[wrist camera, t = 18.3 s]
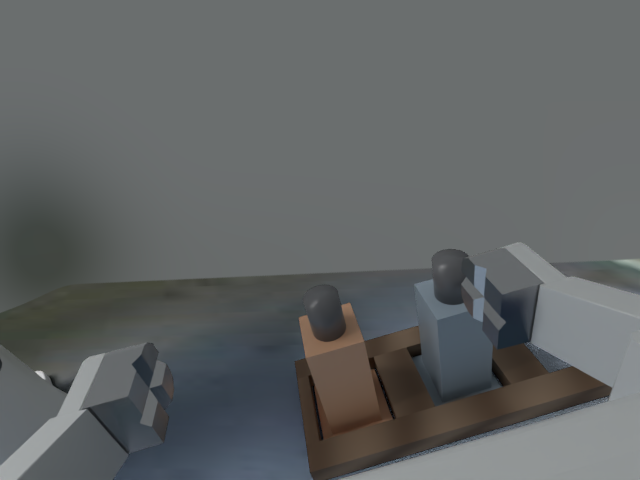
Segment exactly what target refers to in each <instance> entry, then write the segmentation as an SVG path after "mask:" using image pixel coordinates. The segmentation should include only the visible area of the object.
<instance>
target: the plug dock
mask: <svg viewBox="0 0 640 480" xmlns="http://www.w3.org/2000/svg"><path fill="white" fill-rule="evenodd" d="M364 342H365V347H366V351H367V356H368V360H369V365H370V369H372V370H371V374H372V378H373V383H374V387H375V392H376V396H377V401H378V405H379V410H380V414H381V419H382V420H381V421H377V422H374V423H370V424H367V425H364V426H360V427H357V428H354V429H350V430H347V431H344V432H340V433H337V434H334V435H333V434H332V431H331V428H330V426H329V423H328V420H327V417H326V414H325V411H324V409H323V406H322V403H321V400H320V397H319V394H318V391H317V389H316V386H315V383H314V380H313V377H312V374H311V372H310V369H309V366H308V363H307V360H306V358H305V359H301V360H298V361H295V367H296V374H297V381H298V389H299V396H300V403H301V410H302V418H303V425H304V432H305V439H306V446H307V454H308V461H309V468H310V473H311V476H312V478H313V480H327V479H331V478H334V477H338V476H341V475H344V474H348V473H351V472H354V471H358V470H361V469H364V468H368V467H371V466H374V465H378V464H381V463H384V462H388V461H391V460H394V459H398V458H401V457H404V456H408V455H411V454H414V453H418V452H421V451H424V450H428V449H431V448H435V447H438V446H441V445H445V444H448V443H451V442H455V441H458V440H461V439H465V438H468V437H471V436H475V435H478V434H481V433H485V432H488V431H491V430H495V429H498V428H501V427H505V426H508V425H511V424H515V423H518V422H521V421H525V420H528V419H531V418H535V417H538V416H542V415H545V414H548V413H552V412H555V411H558V410H562V409H565V408H568V407H572V406H575V405H578V404H582V403H585V402H588V401H592V400H595V399H598V398H602V397H605V396H608V395H610V393H611V390H612V387H610V386H608V385H606V384H605V383H603V382H601V381H599V380H597V379H595V378H594V377H592V376H590V375H588V374H586V373H584V372H583V371H581V370H579V369H577V368H575V367H573V366H571V367H568V368H565V369H561V370H558V371H555V372H551V373H549V372H548V371H547V370H546V369H545V368H544V366H543V365H542V364H541V363H540V362H539V361H538V360H537V358H536V357H535V356H534V355H533V354H532V353H531V351H530V350H529V349H528V348H527V347H526V346H525V345H524V343H522V344H518V345H514V346H510V347H506V348H502V349H498V350H497V349H496V348H495V346H494V345H493V351H492V371H493V372H494V374H495V375H496V377H497V378H498V379H499V381H500V382H501V384H502V385H503V386H504V387H502V386H501V385H500V383H499V382H498V380H497V379H496V377H495V376H494V375H493V373H492V377H491V388H488V389H485V390H481V391H478V392H475V393H471V394H468V395H464V396H461V397H458V398H454V399H451V400H448V401H444V402H443V401H442V399H441V397H440V395H439V393H438V391H437V389H436V387H435V386H434V384H433V382H432V380H431V378H430V376H429V374H428V372H427V370H426V368H425V366H424V364H423V361H422V352H421V343H420V333H419V326H416V327H412V328H409V329H405V330H402V331H398V332H395V333H391V334H388V335H384V336H381V337H377V338H374V339H371V340H367V341H364ZM418 355H420V356H418ZM415 356H416V357H415ZM412 357H413V358H412ZM374 368H376V369H377V372H378V374H379V377H380V380H381V382H382V385H383V388H384V390H385V393H386V396H387V398H388V401H389V404H390V406H391V409H392V412H393V415H394V417H395V419H393V418H392V416H391V413H390V410H389V407H388V405H387V402H386V399H385V397H384V394H383V391H382V388H381V386H380V383H379V380H378V377H377V375H376V372H375V369H374ZM312 386H314V389H315V394H316V400H317V405H318V411H319V416H320V422H321V427H322V433H323V438H324V440H321V434H320V429H319V423H318V417H317V412H316V406H315V400H314V395H313V389H312Z"/></svg>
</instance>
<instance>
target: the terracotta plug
mask: <svg viewBox="0 0 640 480" xmlns="http://www.w3.org/2000/svg"><path fill="white" fill-rule="evenodd" d="M303 304H304V307H305V310H306V313H307V315H305V316H302V317H299V322H300V328H301V334H302V340H303V345H304V351H305V357H306V360H307V363H308V366H309V369H310V372H311V374H312V377H313V380H314V383H315V386H316V389H317V391H318V394H319V397H320V400H321V403H322V406H323V409H324V411H325V414H326V417H327V420H328V423H329V426H330V428H331V431H332V434H333V435H334V434H337V433H340V432H344V431H347V430H350V429H354V428H357V427H360V426H364V425H367V424H370V423H374V422H377V421H381V420H382V419H381V414H380V410H379V405H378V401H377V396H376V392H375V387H374V383H373V378H372V374H371V369H370V365H369V360H368V356H367V351H366V347H365V342H364V339H363V336H362V334H361V331H360V328H359V326H358V323H357V320H356V317H355V315H354V312H353V309H352V307H351V304H350V303H347V304H343V305H341V303H340V299H339V295H338V291H337V289H336V288H335V287H333V286H330V285H318V286H315V287H313V288H311V289H309V290H308V291H307V292H306V293H305V294H304V296H303Z"/></svg>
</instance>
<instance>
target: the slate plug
mask: <svg viewBox="0 0 640 480" xmlns="http://www.w3.org/2000/svg"><path fill="white" fill-rule="evenodd" d="M466 257H469V256H468V255H467V254H466V253H465V252H463V251H460V250H456V249H447V250H442V251H439V252H437V253H436V254H435V255H433V257H432V271H433V279H431V280H427V281H424V282H420V283H417V284H414V287H415V296H416V306H417V315H418V324H419V333H420V343H421V352H422V361H423V364H424V366H425V368H426V370H427V372H428V374H429V376H430V378H431V380H432V382H433V384H434V386H435V387H436V389H437V391H438V393H439V395H440V397H441V399H442V401H443V402H444V401H448V400H451V399H454V398H458V397H461V396H464V395H468V394H471V393H475V392H478V391H481V390H485V389H488V388H491V377H492V351H493V344H492V342H491V341H490V340H489V338H488V337H487V336H486V335H485V333H484V332H483V331H482V326H483V322H481V321H479V320H476V319H474V318H473V317H472V316H471V315H470V313H469V312H468V310H467V308H466V306H465V304H464V301H463V298H462V294H461V283H462V282H463V281H464V279H465V278H466V276H465V275H464V274H463V272H462V271H461V263H462V260H463V258H466Z"/></svg>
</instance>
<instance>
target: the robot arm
mask: <svg viewBox="0 0 640 480" xmlns="http://www.w3.org/2000/svg"><path fill="white" fill-rule="evenodd" d="M461 271H462V272H463V274H464V275H465V276H466V278H465V279H464V281H463V282H462V283H461V294H462V298H463V301H464V304H465V306H466V308H467V310H468V312H469V313H470V315H471V316H472V317H473V318H474V319H476V320H479V321H481V322H483V326H482V331H483V332H484V333H485V335H486V336H487V337H488V338H489V340H490V341H491V342H492V344H493V345H494V346H495V348H496V349H497V350H498V349H502V348H506V347H510V346H514V345H518V344H522V343H526V342H530V341H531V344H533V345H535V346H537V347H538V348H540V349H542V350H544V351H546V352H548V353H549V354H551V355H553V356H555V357H557V358H559V359H561V360H562V361H564V362H566V363H568V364H570V365H572V366H573V367H575V368H577V369H579V370H581V371H583V372H584V373H586V374H588V375H590V376H592V377H594V378H595V379H597V380H599V381H601V382H603V383H605V384H606V385H608V386H610V387H612V390H611V393H610V396H609V398H608V401H607V402H604V403H600V404H597V405H593V406H590V407H586V408H583V409H579V410H576V411H572V412H569V413H566V414H562V415H559V416H555V417H552V418H548V419H545V420H541V421H538V422H534V423H531V424H528V425H524V426H521V427H517V428H514V429H510V430H507V431H503V432H500V433H497V434H493V435H490V436H486V437H483V438H479V439H476V440H472V441H469V442H465V443H462V444H459V445H455V446H452V447H448V448H445V449H441V450H438V451H434V452H431V453H427V454H424V455H421V456H417V457H414V458H410V459H407V460H403V461H400V462H396V463H393V464H390V465H386V466H383V467H379V468H376V469H372V470H369V471H365V472H362V473H358V474H355V475H352V476H348V477H345V478H341V479H338V480H640V295H637V294H634V293H630V292H627V291H623V290H620V289H616V288H613V287H609V286H606V285H602V284H599V283H595V282H592V281H588V280H585V279H581V278H578V277H574V276H572V277H568V278H567V277H566V276H564V275H563V274H562V273H561V272H559V271H558V270H557V269H556V268H554V267H553V266H552V265H551V264H549V263H548V262H547V261H546V260H544V259H543V258H542V257H541V256H539V255H538V254H537V253H535V252H534V251H533V250H532V249H530V248H529V247H528V246H526V244H524V243H520V242H518V243H514V244H511V245H507V246H504V247H501V248H499V249H495V250H491V251H488V252H484V253H480V254H477V255H473V256H469V257H466V258H463V260H462V263H461ZM158 353H159V352H158V350H157V349H156V347H155V346H154V344H153V343H148V342H147V343H143V344H139V345H135V346H131V347H127V348H123V349H118V350H114V351H110V352H108V353H104V354H99V355H95V356H91V357H88V358H87V359H86V360H84V361H83V363H82V365H81V367H80V369H79V371H78V373H77V375H76V378H75V380H74V382H73V384H72V386H71V388H70V390H69V392H68V394H67V393H65V392H63V391H62V390H60V389H58V388H56V387H54V386H53V385H52V382H51V379H50V377H49V376H48V375H46V374H45V373H44V372H42V371H36V372H34V371H33V370H32V369H31V368H30V367H28V366H27V365H26V364H25V363H23V362H22V361H21V360H19V359H18V358H17V357H16V356H14V355H13V354H12V353H11V352H9V351H8V350H7V349H6V348H4V347H3V346H2V345H0V480H113V479H114V477H115V476H116V474H117V473H118V471H119V470H120V468H121V467H122V465H123V464H124V462H125V461H126V459H127V458H128V456H129V455H128V454H129V453H133V452H136V451H139V450H142V449H146V448H149V447H152V446H155V445H159V444H162V443H164V440H165V435H166V430H167V425H168V420H169V416H168V415H167V413H166V412H165V409H166V408H167V407H168V405H169V404H170V403H171V401H172V399H173V393H174V385H173V377H172V374H171V371H170V369H169V367H168V366H167V364H166V363H163V362H161V361H159V360H157V357H158Z"/></svg>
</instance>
